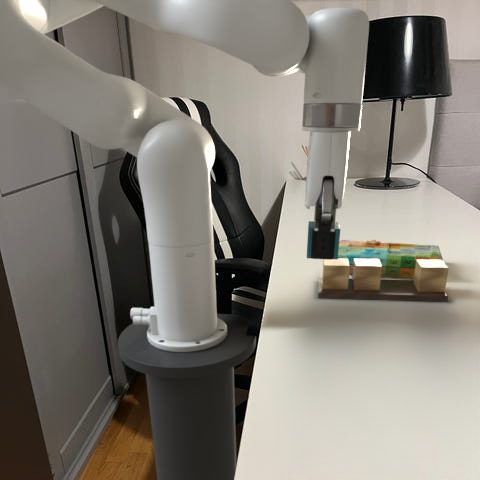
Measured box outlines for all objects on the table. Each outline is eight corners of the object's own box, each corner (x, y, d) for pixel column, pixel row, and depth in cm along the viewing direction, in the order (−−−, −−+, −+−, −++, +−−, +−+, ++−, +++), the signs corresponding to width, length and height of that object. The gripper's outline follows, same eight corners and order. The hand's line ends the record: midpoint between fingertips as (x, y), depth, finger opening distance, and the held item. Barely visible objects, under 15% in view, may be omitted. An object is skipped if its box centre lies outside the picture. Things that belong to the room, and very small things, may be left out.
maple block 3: (418, 291, 86) (421, 267, 84) (413, 283, 90) (416, 259, 88) (444, 292, 85) (448, 267, 83) (438, 283, 89) (442, 260, 87)
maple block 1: (322, 289, 88) (323, 265, 86) (321, 280, 92) (323, 257, 90) (347, 289, 87) (349, 265, 85) (346, 281, 91) (347, 258, 89)
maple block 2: (353, 290, 87) (355, 265, 85) (351, 281, 91) (353, 258, 89) (379, 290, 86) (382, 266, 85) (376, 282, 90) (378, 258, 89)
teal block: (306, 258, 71) (308, 228, 70) (306, 250, 75) (308, 221, 74) (337, 259, 71) (340, 229, 69) (336, 251, 75) (338, 222, 73)
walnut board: (318, 298, 87) (318, 292, 86) (317, 282, 94) (318, 277, 93) (447, 301, 84) (448, 296, 83) (437, 285, 91) (437, 280, 91)
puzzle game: (338, 236, 106) (439, 241, 101) (337, 258, 108) (435, 263, 103) (333, 251, 96) (444, 257, 91) (332, 275, 98) (441, 282, 93)
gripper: (303, 116, 74) (297, 238, 81) (301, 121, 59) (294, 270, 66) (355, 117, 73) (344, 239, 80) (366, 121, 58) (352, 272, 65)
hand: (321, 252), depth 73 cm, fingers closed on teal block, 4 cm apart
